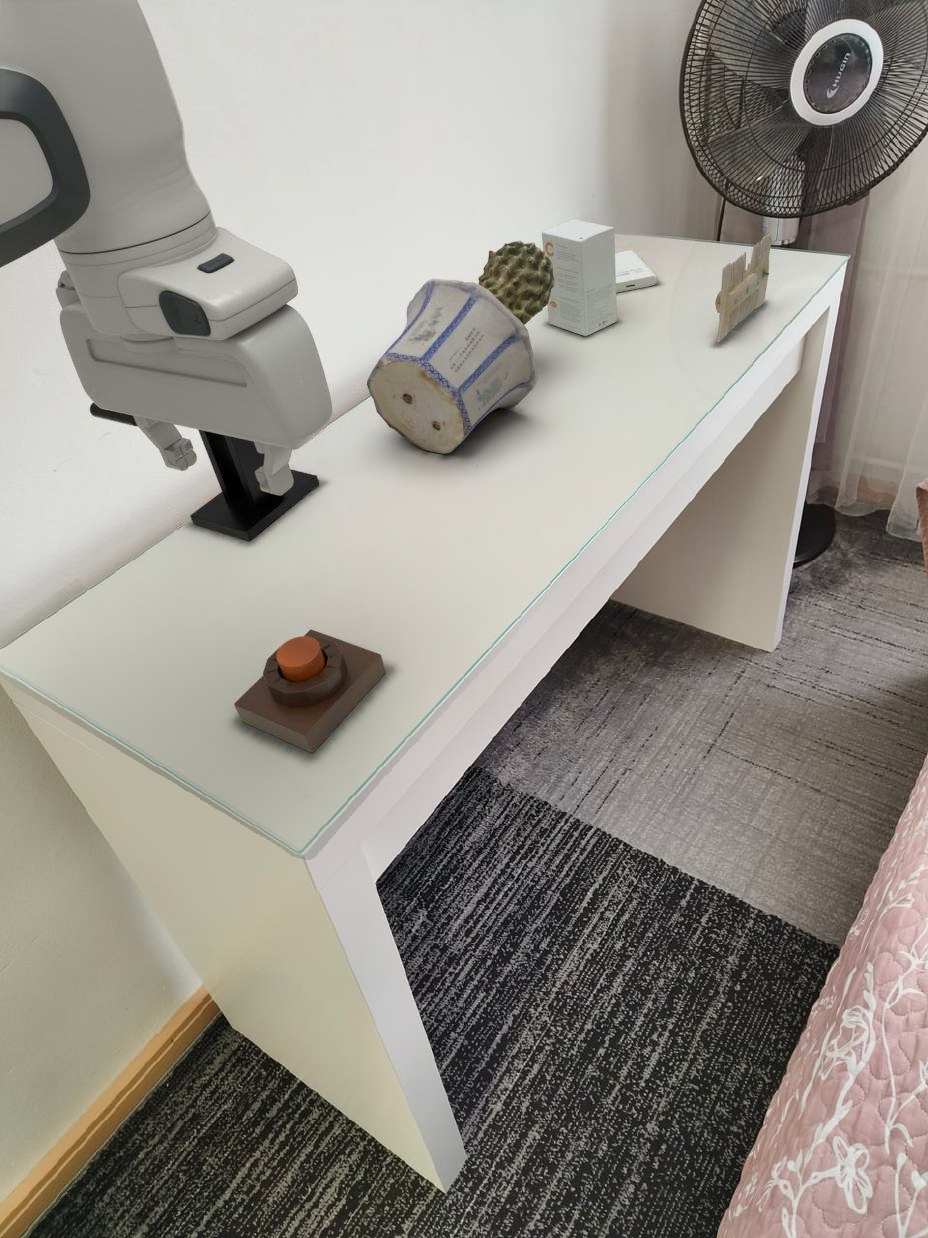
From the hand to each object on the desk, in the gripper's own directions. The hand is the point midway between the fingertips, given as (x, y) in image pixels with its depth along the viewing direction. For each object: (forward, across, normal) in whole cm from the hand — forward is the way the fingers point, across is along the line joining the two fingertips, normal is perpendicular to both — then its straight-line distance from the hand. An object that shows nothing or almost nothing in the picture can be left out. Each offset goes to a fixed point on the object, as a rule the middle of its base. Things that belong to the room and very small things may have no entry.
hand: (229, 477), depth 59 cm
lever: (+8, -25, +15) cm, 30 cm away
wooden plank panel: (+22, +11, +80) cm, 84 cm away
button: (+18, +1, 0) cm, 18 cm away
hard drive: (+22, -13, +93) cm, 96 cm away
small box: (+22, -10, +75) cm, 79 cm away
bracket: (+21, -25, +21) cm, 39 cm away
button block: (+21, +1, 0) cm, 21 cm away
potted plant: (+22, -11, +50) cm, 55 cm away
